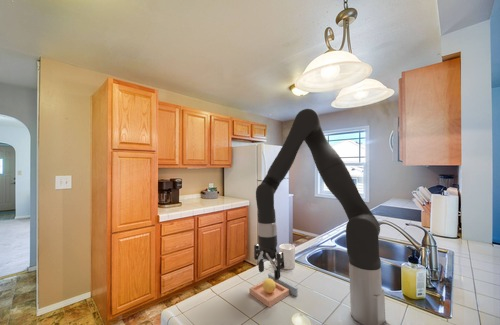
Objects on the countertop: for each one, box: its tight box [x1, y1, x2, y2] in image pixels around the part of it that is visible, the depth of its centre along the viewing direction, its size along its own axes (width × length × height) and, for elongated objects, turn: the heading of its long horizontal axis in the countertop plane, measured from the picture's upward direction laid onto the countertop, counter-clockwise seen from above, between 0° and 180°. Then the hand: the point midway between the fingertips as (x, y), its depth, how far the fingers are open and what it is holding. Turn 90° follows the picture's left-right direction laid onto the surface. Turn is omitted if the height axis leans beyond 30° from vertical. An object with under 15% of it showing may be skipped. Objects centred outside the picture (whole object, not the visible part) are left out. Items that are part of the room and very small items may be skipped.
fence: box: [267, 272, 299, 297], centre depth 85 cm, size 15×1×3 cm, turn 40°
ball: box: [262, 277, 276, 293], centre depth 81 cm, size 5×5×5 cm
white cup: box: [278, 243, 296, 271], centre depth 104 cm, size 8×8×10 cm
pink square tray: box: [249, 281, 290, 308], centre depth 81 cm, size 11×11×2 cm
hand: (269, 275), depth 81 cm, fingers open, 8 cm apart
